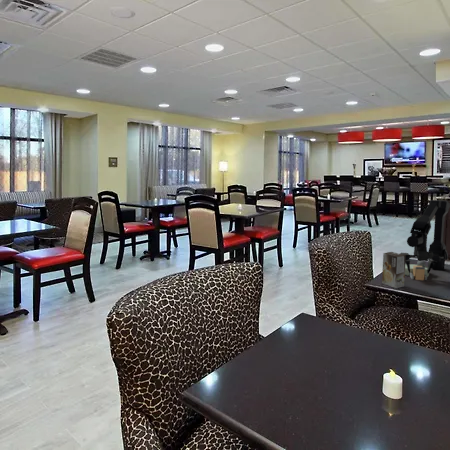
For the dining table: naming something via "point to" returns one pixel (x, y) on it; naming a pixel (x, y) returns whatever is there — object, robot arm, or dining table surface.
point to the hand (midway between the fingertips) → (418, 272)
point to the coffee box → (393, 269)
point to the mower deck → (419, 263)
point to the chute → (418, 272)
